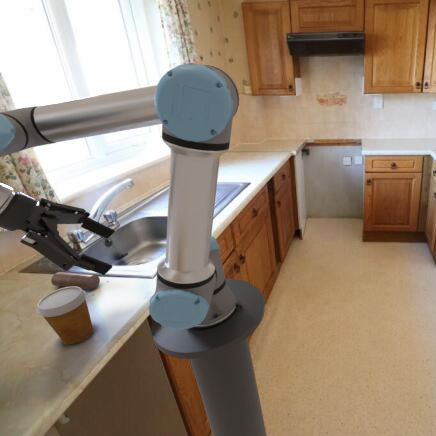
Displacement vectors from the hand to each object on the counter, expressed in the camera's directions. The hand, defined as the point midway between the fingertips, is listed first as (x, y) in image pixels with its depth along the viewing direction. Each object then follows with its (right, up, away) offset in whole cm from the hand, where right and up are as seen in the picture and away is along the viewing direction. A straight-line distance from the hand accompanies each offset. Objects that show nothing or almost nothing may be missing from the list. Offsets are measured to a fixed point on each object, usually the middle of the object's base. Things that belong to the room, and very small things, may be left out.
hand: (109, 251), depth 78 cm
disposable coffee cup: (-10, -22, +3) cm, 24 cm away
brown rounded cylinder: (-25, -13, +23) cm, 36 cm away
